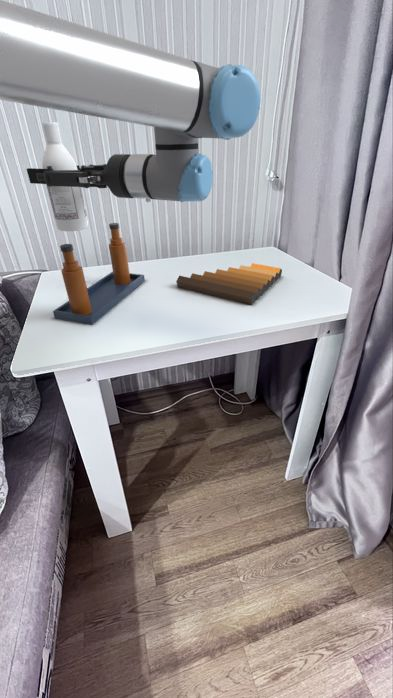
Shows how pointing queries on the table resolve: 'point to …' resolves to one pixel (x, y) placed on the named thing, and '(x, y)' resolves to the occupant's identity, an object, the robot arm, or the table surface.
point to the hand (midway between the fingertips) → (43, 173)
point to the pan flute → (234, 282)
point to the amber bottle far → (118, 256)
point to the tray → (100, 299)
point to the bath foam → (63, 199)
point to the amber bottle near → (75, 282)
